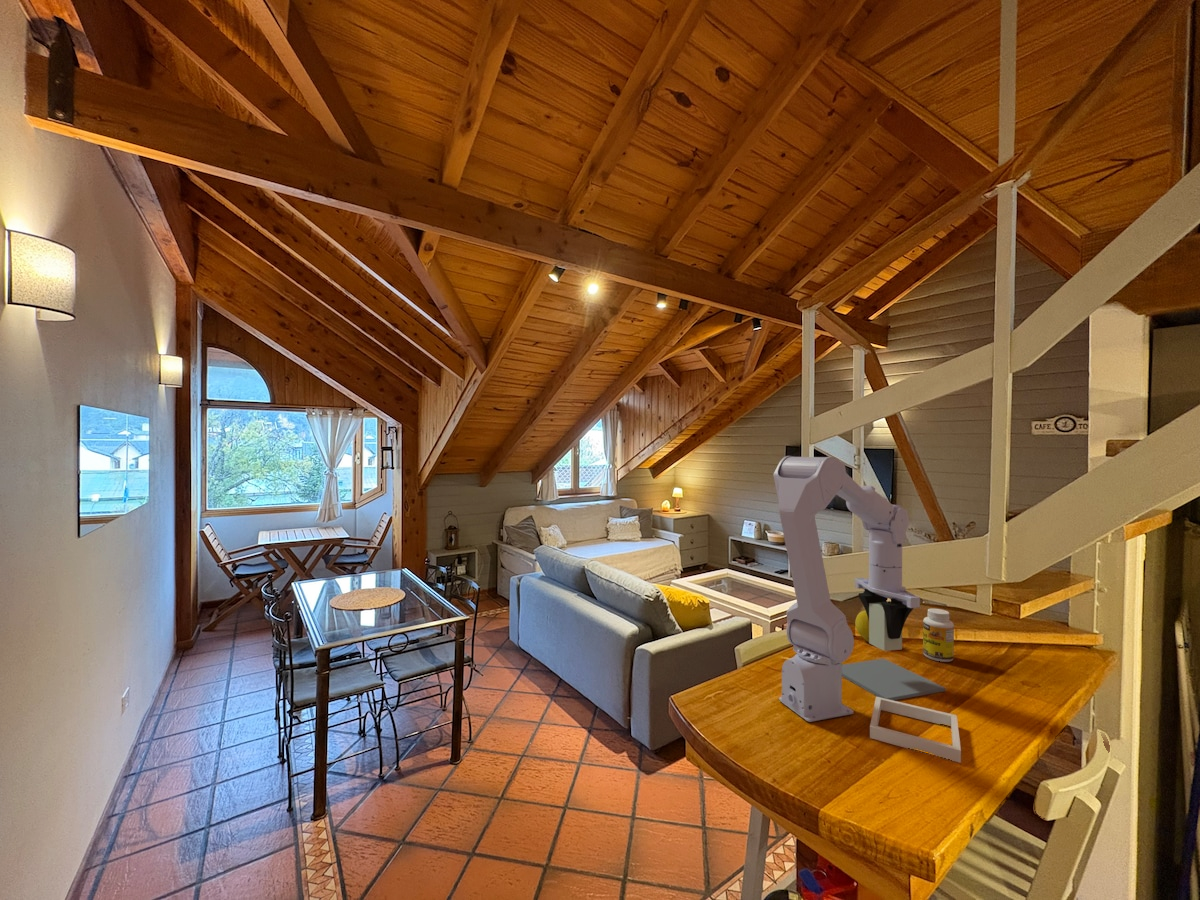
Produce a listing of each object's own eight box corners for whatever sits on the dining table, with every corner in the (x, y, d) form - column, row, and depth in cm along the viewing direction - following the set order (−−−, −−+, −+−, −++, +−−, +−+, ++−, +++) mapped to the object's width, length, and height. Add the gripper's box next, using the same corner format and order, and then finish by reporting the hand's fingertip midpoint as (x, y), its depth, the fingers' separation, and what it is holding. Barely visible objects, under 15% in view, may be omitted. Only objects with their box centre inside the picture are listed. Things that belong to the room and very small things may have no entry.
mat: (886, 701, 91) (886, 698, 91) (829, 669, 104) (829, 666, 104) (945, 691, 95) (945, 687, 95) (883, 661, 108) (883, 658, 108)
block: (902, 649, 98) (902, 607, 98) (884, 650, 97) (884, 609, 97) (886, 641, 102) (886, 601, 102) (869, 643, 101) (869, 603, 101)
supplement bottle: (916, 654, 112) (917, 608, 112) (935, 651, 114) (936, 606, 114) (940, 664, 107) (940, 616, 107) (960, 661, 108) (960, 613, 108)
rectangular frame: (960, 763, 73) (960, 750, 73) (869, 738, 79) (869, 726, 79) (956, 726, 83) (956, 715, 83) (876, 706, 89) (876, 696, 89)
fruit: (875, 637, 122) (875, 604, 122) (885, 646, 116) (886, 611, 116) (851, 636, 123) (851, 603, 123) (860, 645, 117) (860, 610, 117)
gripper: (933, 572, 93) (933, 646, 93) (875, 556, 107) (875, 620, 107) (901, 574, 92) (901, 649, 92) (846, 557, 106) (846, 622, 106)
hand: (885, 633), depth 99 cm, fingers closed on block, 4 cm apart
